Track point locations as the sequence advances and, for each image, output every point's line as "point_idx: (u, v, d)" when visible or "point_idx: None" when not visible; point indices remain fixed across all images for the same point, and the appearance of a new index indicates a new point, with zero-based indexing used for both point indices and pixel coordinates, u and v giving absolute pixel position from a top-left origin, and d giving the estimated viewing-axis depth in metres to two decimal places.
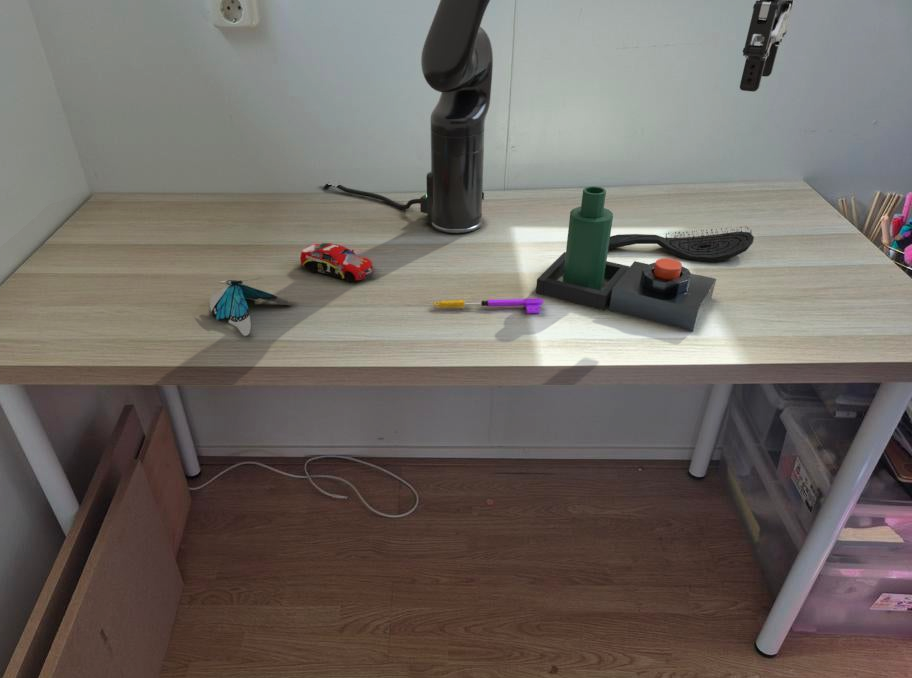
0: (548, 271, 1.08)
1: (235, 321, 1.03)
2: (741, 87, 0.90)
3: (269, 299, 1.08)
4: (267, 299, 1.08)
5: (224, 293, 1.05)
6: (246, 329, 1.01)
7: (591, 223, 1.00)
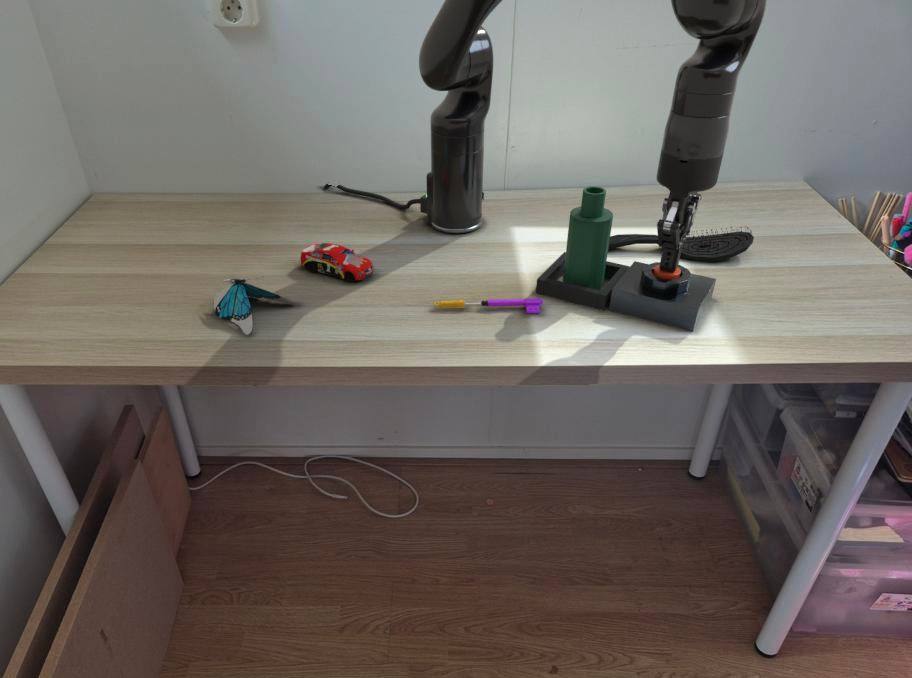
0: (548, 271, 1.08)
1: (237, 319, 1.03)
2: (660, 268, 1.00)
3: (272, 298, 1.08)
4: (271, 298, 1.08)
5: (227, 291, 1.06)
6: (248, 328, 1.01)
7: (591, 223, 1.00)
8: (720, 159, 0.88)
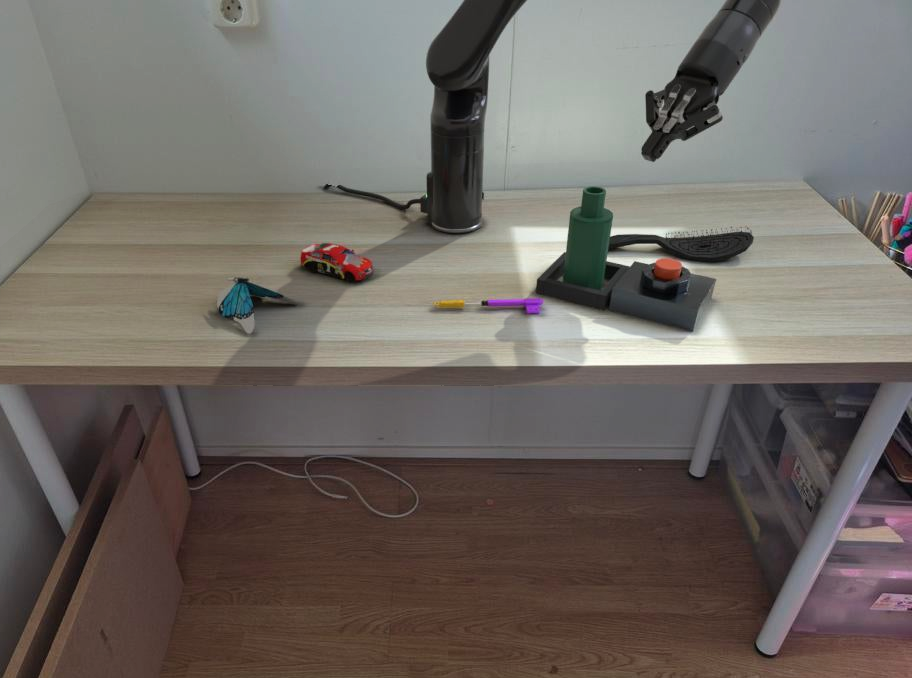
0: (548, 271, 1.08)
1: (239, 318, 1.03)
2: (650, 153, 1.02)
3: (275, 298, 1.08)
4: (274, 297, 1.08)
5: (231, 290, 1.06)
6: (249, 327, 1.02)
7: (591, 223, 1.00)
8: None
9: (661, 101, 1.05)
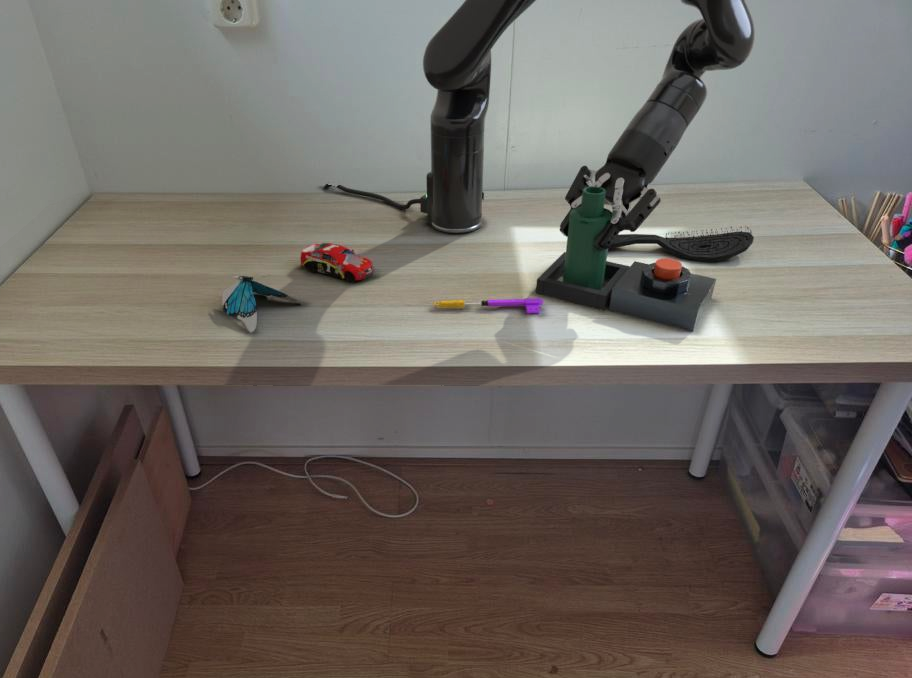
0: (548, 271, 1.08)
1: (243, 316, 1.04)
2: (598, 244, 1.00)
3: (280, 297, 1.08)
4: (278, 296, 1.09)
5: (235, 288, 1.06)
6: (252, 326, 1.02)
7: (591, 223, 1.00)
8: None
9: (590, 181, 1.06)
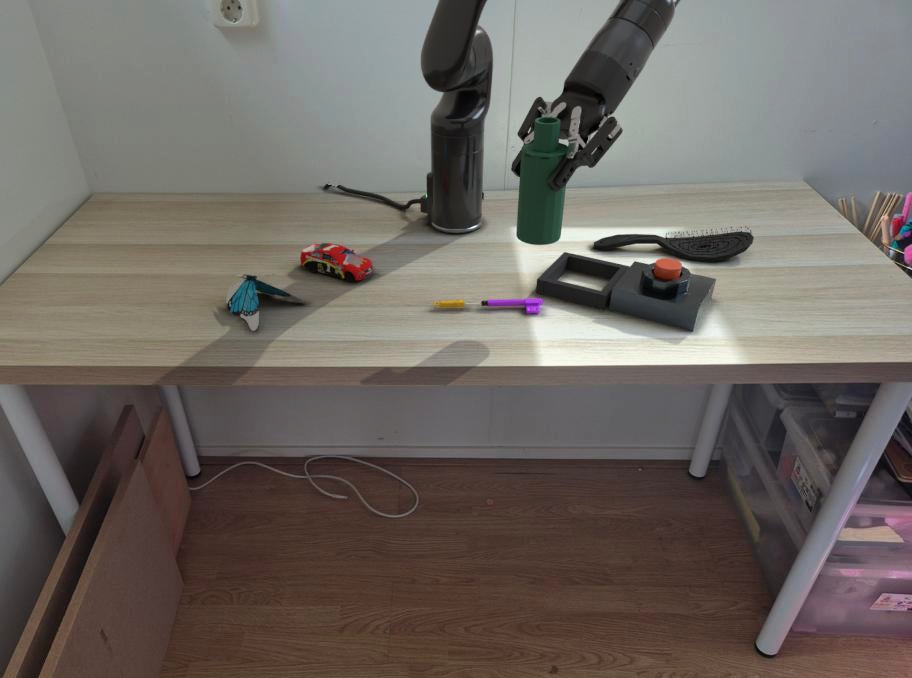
0: (548, 271, 1.08)
1: (245, 315, 1.04)
2: (552, 183, 0.88)
3: (284, 296, 1.09)
4: (282, 296, 1.09)
5: (239, 286, 1.07)
6: (254, 325, 1.02)
7: (544, 158, 0.88)
8: None
9: (546, 114, 0.94)
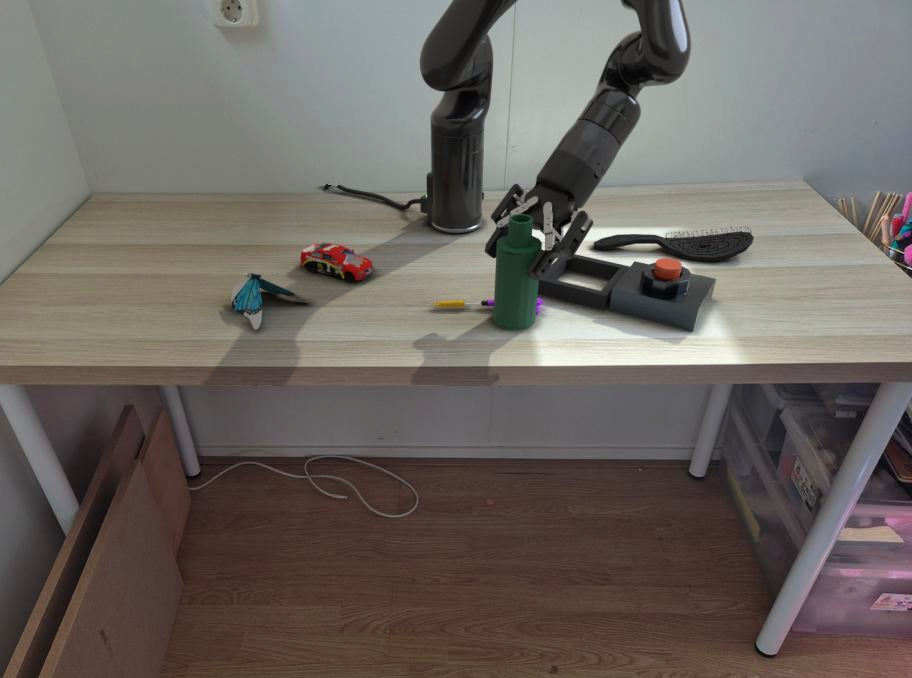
0: (548, 271, 1.08)
1: (249, 313, 1.04)
2: (531, 273, 0.92)
3: (288, 295, 1.09)
4: (287, 295, 1.09)
5: (244, 285, 1.07)
6: (257, 323, 1.02)
7: (517, 254, 0.93)
8: None
9: (520, 202, 0.99)
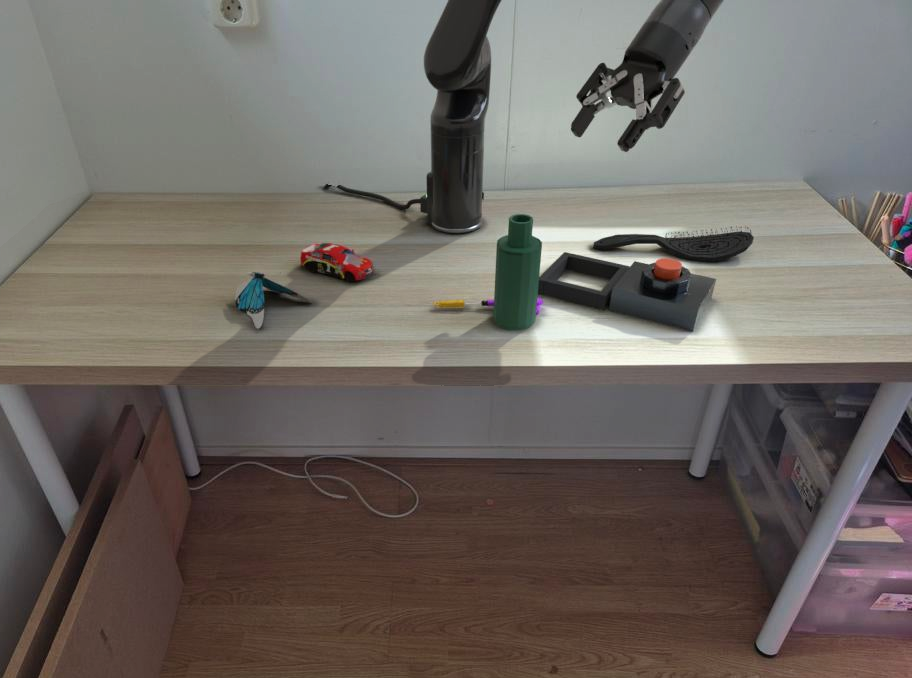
0: (548, 271, 1.08)
1: (252, 312, 1.05)
2: (622, 143, 0.94)
3: (292, 295, 1.09)
4: (290, 294, 1.09)
5: (248, 284, 1.07)
6: (259, 323, 1.03)
7: (517, 254, 0.93)
8: None
9: (606, 80, 1.00)
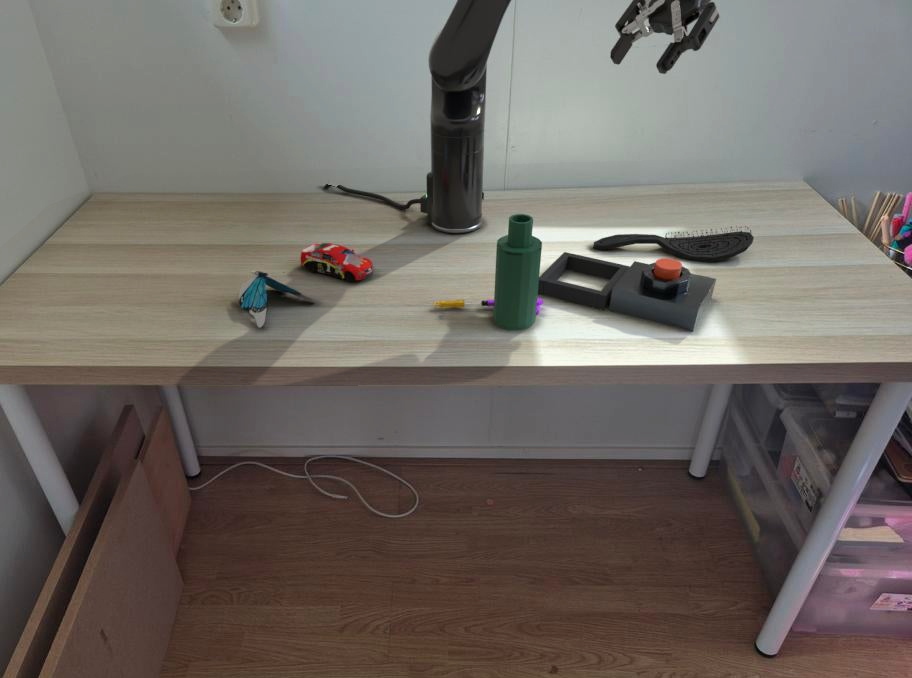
0: (548, 271, 1.08)
1: (254, 311, 1.05)
2: (661, 64, 1.00)
3: (295, 294, 1.09)
4: (294, 294, 1.09)
5: (252, 282, 1.08)
6: (261, 322, 1.03)
7: (517, 254, 0.93)
8: None
9: (643, 11, 1.07)
